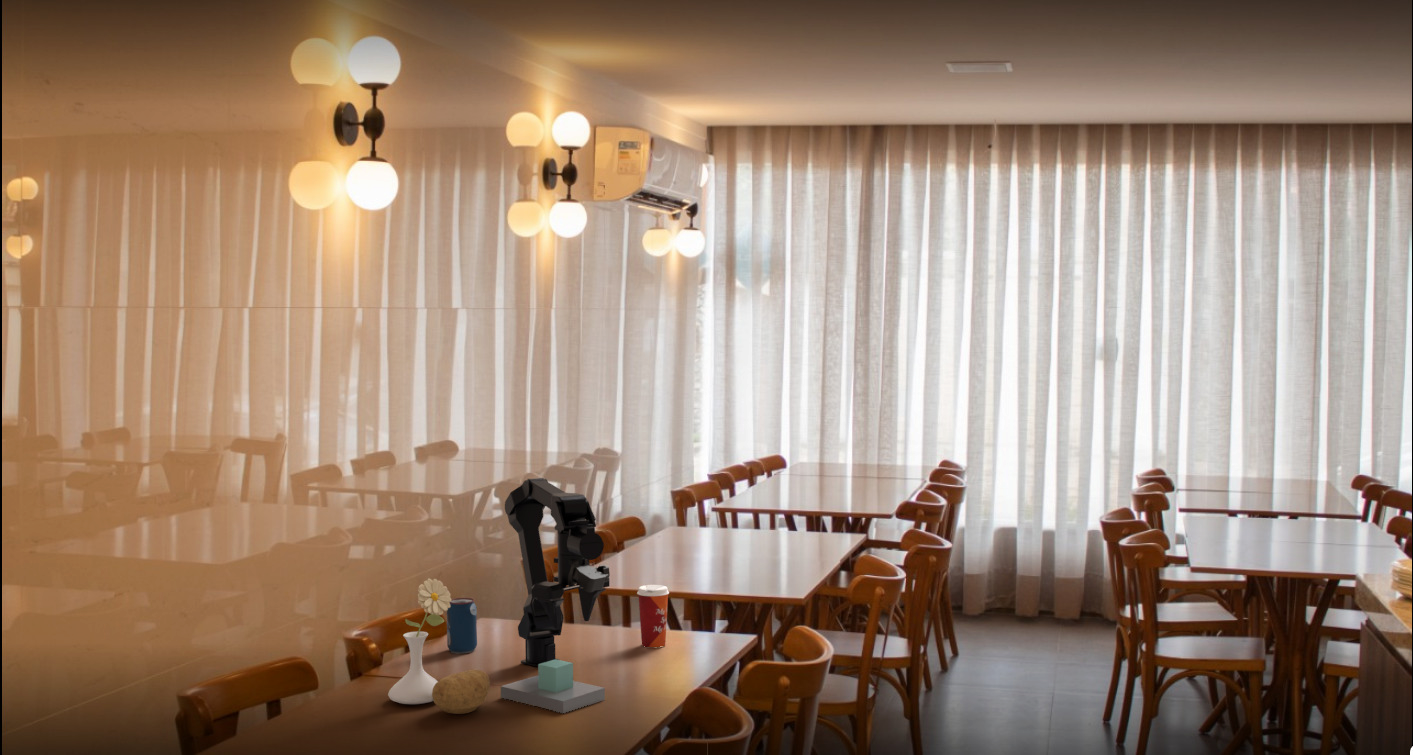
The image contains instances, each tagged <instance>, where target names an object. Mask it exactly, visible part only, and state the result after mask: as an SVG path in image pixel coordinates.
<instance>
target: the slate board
mask: <svg viewBox="0 0 1413 755" xmlns="http://www.w3.org/2000/svg"><path fill="white" fill-rule="evenodd" d="M605 690H606V688H605V687H602V686H599V685H595V684H589V683H585V682H581V681H576V680H573V687H572V688H569V689H566V690H563V691H559V692H552V691H547V690H543V689H539V687H538V674H537V675H533V676H531V677H528V678H524V679H520V680H517V681H514V682H513V681H512V682H510V683H508V684H507V683H506V684H504V685H501V686H500V699H502V698H504V699H503V700H506V699H509V700H508V701H510V700H513V701H512V702H514V701H518V702H522V703H526V704H530V705H534V706H539V707H542V708H546V709H549V710H548V711H550V710H553V711H552V712H555V711H556V712H555V713H559V712H560V713H559V714H563V713H564V714H567V713H570V712H572V710H573V711H575V709H576V710H579V709H581V707H582V708H585V707H588V706H591V705H594V704H597V703H599V702H602V701H605V700H606V696H605V695H606V693H605ZM518 702H517V703H518ZM522 703H521V704H522ZM526 704H525V705H526ZM530 705H529V706H530ZM587 705H588V706H587ZM534 706H533V707H534ZM584 706H585V707H584ZM542 708H541V709H542ZM578 708H579V709H578ZM546 709H545V710H546ZM569 711H570V712H569ZM566 712H567V713H566Z"/></svg>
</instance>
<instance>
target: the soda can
mask: <svg viewBox="0 0 1413 755" xmlns="http://www.w3.org/2000/svg"><path fill="white" fill-rule="evenodd" d="M451 599H452V601H451V602H449V603H450V608H448V609H447V611H446V639H447V640H446V642H447V644H446V645H447V648H448V650H449V652H450V653H452V654H458V655H459V654H462V655H463V654H468V653H473V652H474V651H475V650H476V648H477V646H478V624H477V623H478V622H477V621H478V620H477V618H478V616H477V615H478V614H477V605H476V604H475V600H474V598H470V597H457V598H451Z"/></svg>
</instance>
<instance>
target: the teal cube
mask: <svg viewBox="0 0 1413 755" xmlns="http://www.w3.org/2000/svg"><path fill="white" fill-rule="evenodd" d="M556 659H557V658H555V660H551V661H548V662H544V663H541V664H538V667H537V670H538V674H537V675H538V687H539V689H543V690H547V691H552V692H559V691H563V690H566V689H569V688H572V687H573V681H574V663H573V662H570V661H566V660H561V659H559V660H556Z"/></svg>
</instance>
